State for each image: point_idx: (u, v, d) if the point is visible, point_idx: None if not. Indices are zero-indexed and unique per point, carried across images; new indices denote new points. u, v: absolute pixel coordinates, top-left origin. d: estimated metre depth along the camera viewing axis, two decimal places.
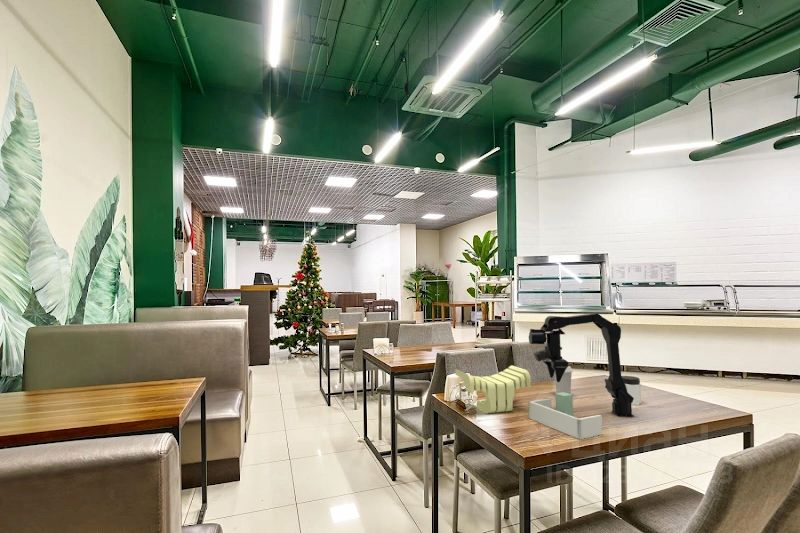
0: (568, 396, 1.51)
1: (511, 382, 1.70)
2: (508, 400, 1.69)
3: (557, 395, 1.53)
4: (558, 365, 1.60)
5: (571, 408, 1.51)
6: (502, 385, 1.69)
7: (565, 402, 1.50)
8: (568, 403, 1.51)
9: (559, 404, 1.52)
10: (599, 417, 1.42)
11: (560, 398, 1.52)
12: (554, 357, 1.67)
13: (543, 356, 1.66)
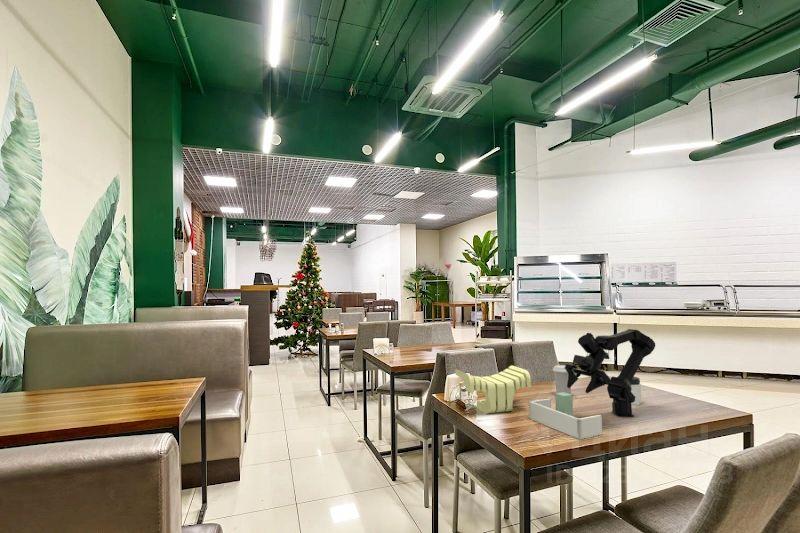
0: (568, 396, 1.51)
1: (511, 382, 1.70)
2: (508, 400, 1.69)
3: (557, 395, 1.53)
4: (604, 377, 1.50)
5: (571, 408, 1.51)
6: (502, 385, 1.69)
7: (565, 402, 1.50)
8: (568, 403, 1.51)
9: (559, 404, 1.52)
10: (599, 417, 1.42)
11: (560, 398, 1.52)
12: (593, 370, 1.57)
13: (590, 361, 1.55)
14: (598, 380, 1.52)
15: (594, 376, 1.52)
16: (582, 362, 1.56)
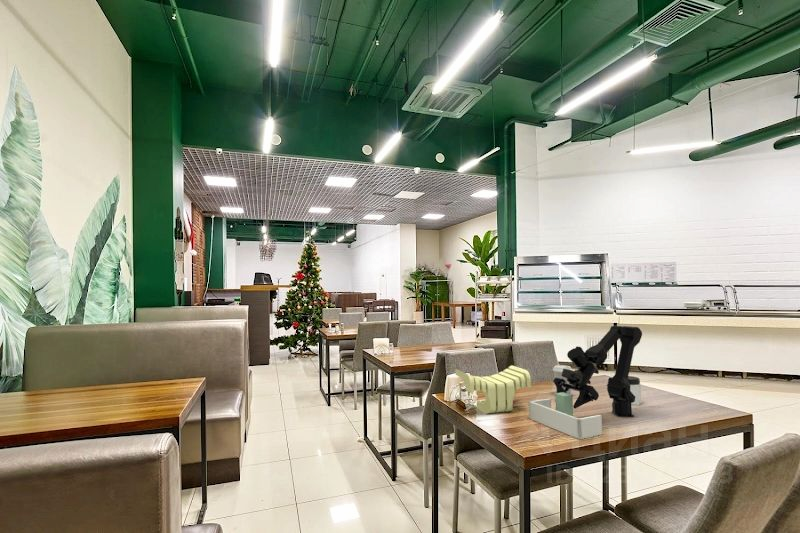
0: (568, 396, 1.51)
1: (511, 382, 1.70)
2: (508, 400, 1.69)
3: (557, 395, 1.53)
4: (592, 392, 1.47)
5: (571, 408, 1.51)
6: (502, 385, 1.69)
7: (565, 402, 1.50)
8: (568, 403, 1.51)
9: (559, 404, 1.52)
10: (599, 417, 1.42)
11: (560, 398, 1.52)
12: (581, 385, 1.54)
13: (578, 376, 1.51)
14: (586, 395, 1.49)
15: (582, 391, 1.48)
16: (571, 376, 1.52)
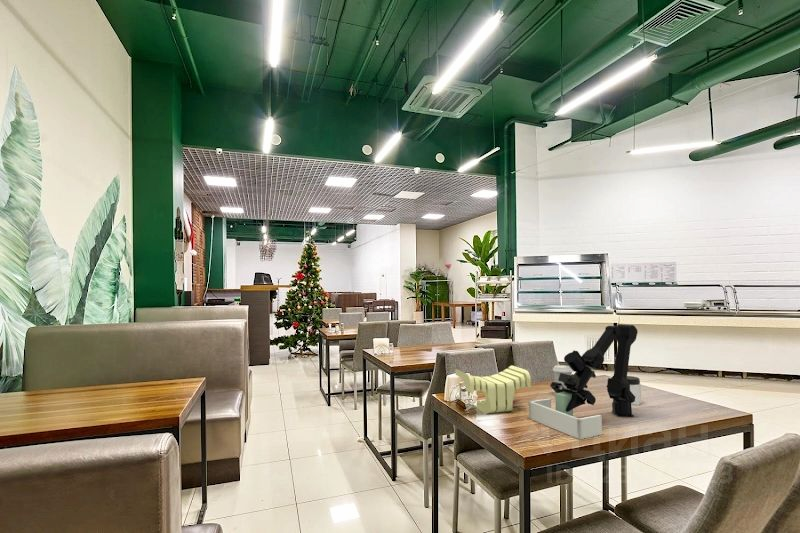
0: (568, 396, 1.51)
1: (511, 382, 1.70)
2: (508, 400, 1.69)
3: (557, 395, 1.53)
4: (589, 397, 1.46)
5: None
6: (502, 385, 1.69)
7: (565, 402, 1.50)
8: (568, 403, 1.51)
9: (559, 404, 1.52)
10: (599, 417, 1.42)
11: (560, 398, 1.52)
12: (578, 389, 1.53)
13: (575, 380, 1.51)
14: (579, 399, 1.50)
15: (575, 394, 1.50)
16: (567, 381, 1.51)
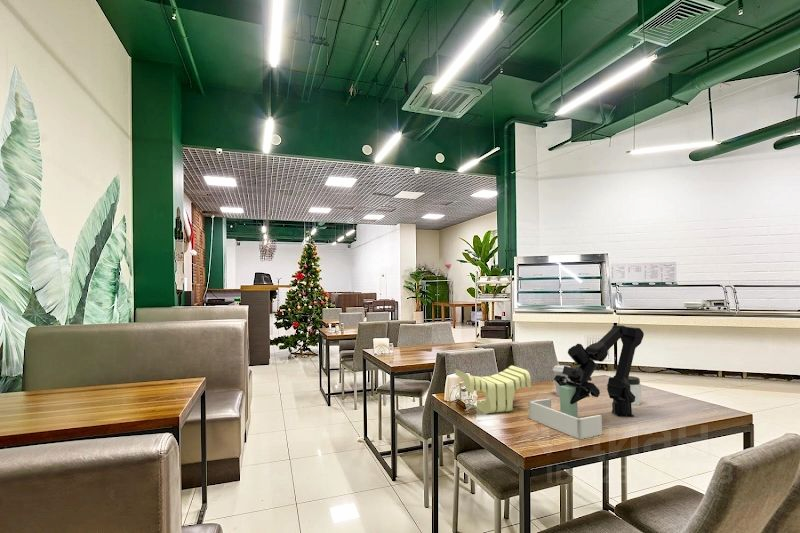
0: (572, 389, 1.52)
1: (511, 382, 1.70)
2: (508, 400, 1.69)
3: (561, 388, 1.54)
4: (593, 389, 1.47)
5: None
6: (502, 385, 1.69)
7: (569, 395, 1.51)
8: (572, 395, 1.52)
9: (563, 397, 1.53)
10: (599, 417, 1.42)
11: (564, 391, 1.53)
12: (582, 382, 1.54)
13: (579, 373, 1.52)
14: (583, 391, 1.51)
15: (579, 387, 1.51)
16: (571, 374, 1.53)
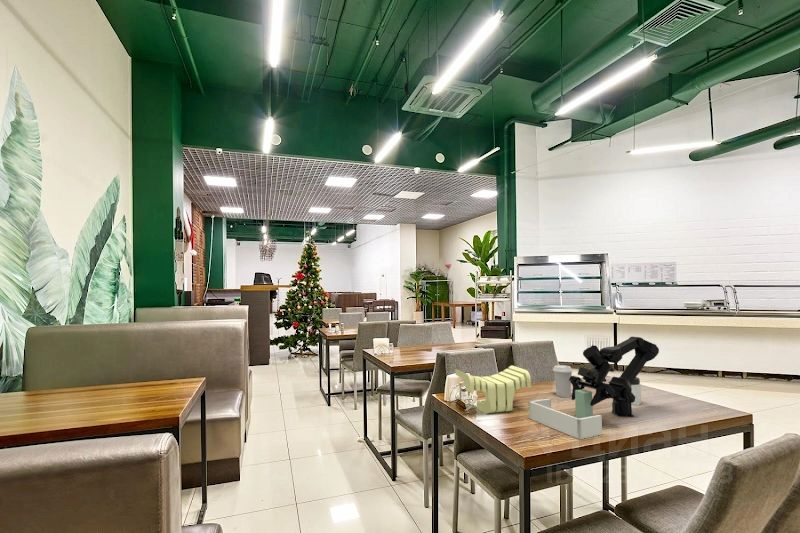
0: (588, 393, 1.56)
1: (511, 382, 1.70)
2: (508, 400, 1.69)
3: (577, 392, 1.58)
4: (609, 390, 1.51)
5: None
6: (502, 385, 1.69)
7: (585, 399, 1.55)
8: (588, 400, 1.55)
9: (579, 401, 1.57)
10: (599, 417, 1.42)
11: (580, 395, 1.56)
12: (597, 383, 1.57)
13: (595, 374, 1.55)
14: (603, 393, 1.52)
15: (599, 389, 1.52)
16: (587, 375, 1.56)
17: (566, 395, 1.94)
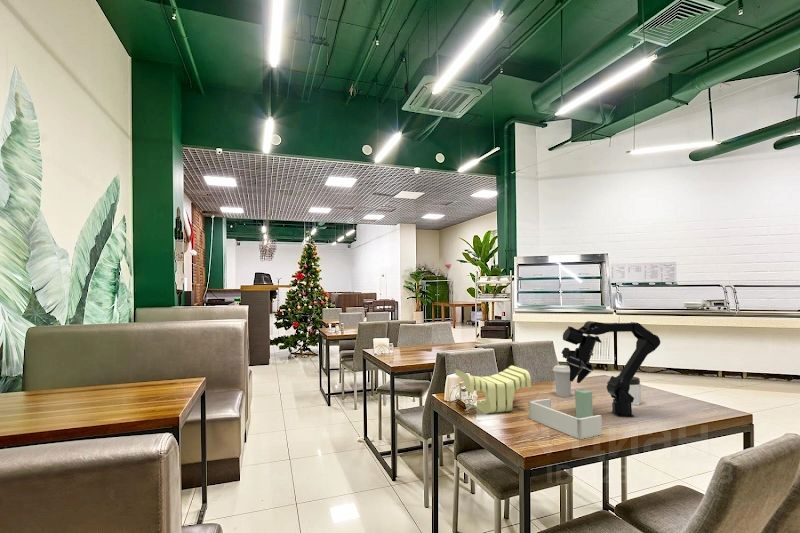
0: (588, 393, 1.56)
1: (511, 382, 1.70)
2: (508, 400, 1.69)
3: (577, 392, 1.58)
4: (570, 361, 1.62)
5: (591, 405, 1.56)
6: (502, 385, 1.69)
7: (585, 399, 1.55)
8: (588, 400, 1.55)
9: (579, 401, 1.57)
10: (599, 417, 1.42)
11: (580, 395, 1.56)
12: (578, 358, 1.66)
13: (566, 352, 1.69)
14: (573, 366, 1.63)
15: None
16: (563, 355, 1.71)
17: (566, 395, 1.94)
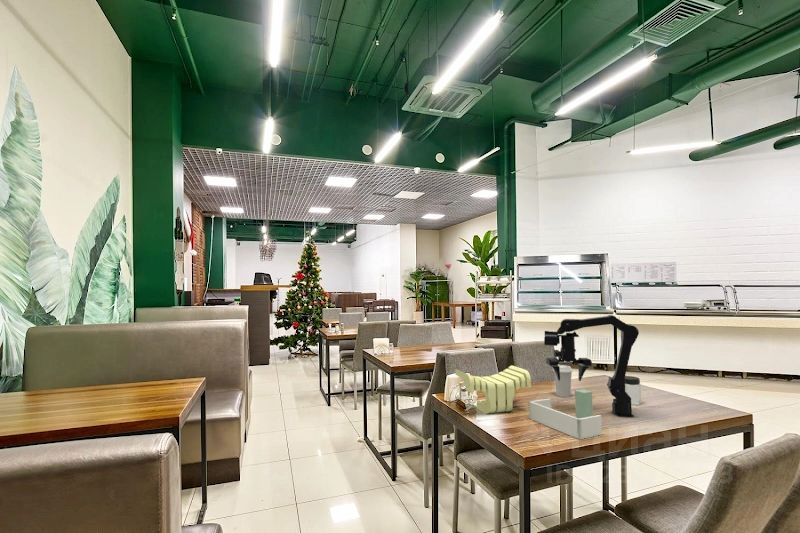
0: (588, 393, 1.56)
1: (511, 382, 1.70)
2: (508, 400, 1.69)
3: (577, 392, 1.58)
4: (547, 362, 1.77)
5: (591, 405, 1.56)
6: (502, 385, 1.69)
7: (585, 399, 1.55)
8: (588, 400, 1.55)
9: (579, 401, 1.57)
10: (599, 417, 1.42)
11: (580, 395, 1.56)
12: (561, 357, 1.76)
13: (554, 354, 1.81)
14: None
15: None
16: (558, 358, 1.82)
17: (566, 395, 1.94)
